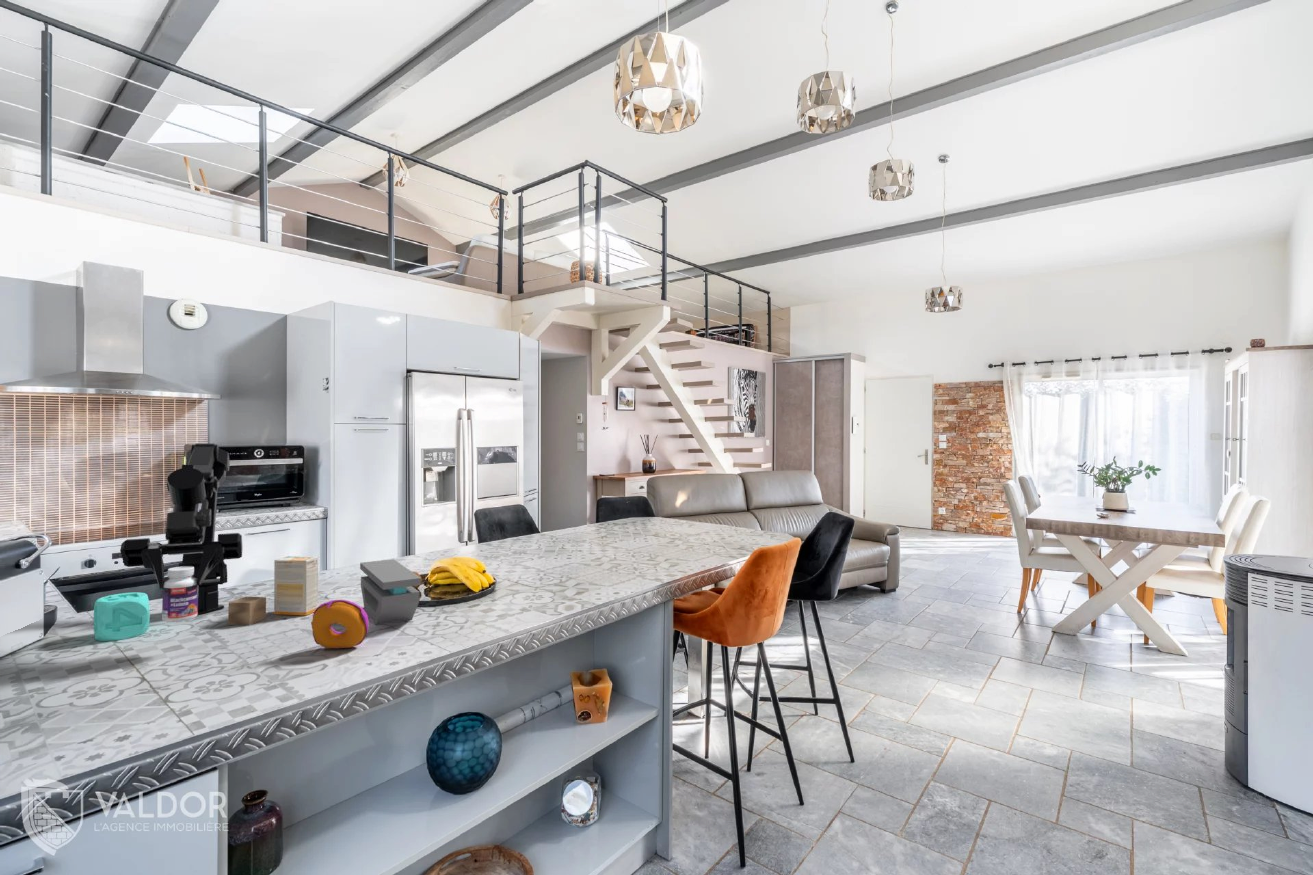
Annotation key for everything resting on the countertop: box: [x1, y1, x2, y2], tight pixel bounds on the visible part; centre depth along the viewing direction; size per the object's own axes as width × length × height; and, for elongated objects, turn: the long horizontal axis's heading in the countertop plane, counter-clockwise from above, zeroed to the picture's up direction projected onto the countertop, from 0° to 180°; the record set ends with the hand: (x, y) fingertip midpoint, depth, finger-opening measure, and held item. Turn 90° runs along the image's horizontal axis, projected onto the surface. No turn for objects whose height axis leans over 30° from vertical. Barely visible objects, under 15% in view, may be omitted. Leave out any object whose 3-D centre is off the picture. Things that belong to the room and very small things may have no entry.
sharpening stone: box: [359, 558, 422, 626], centre depth 140 cm, size 25×8×11 cm, turn 37°
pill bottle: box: [161, 566, 199, 623], centre depth 115 cm, size 5×5×10 cm
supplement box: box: [273, 555, 319, 616], centre depth 142 cm, size 8×5×13 cm, turn 84°
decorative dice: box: [93, 591, 151, 642], centre depth 125 cm, size 8×8×8 cm
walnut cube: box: [227, 596, 267, 626], centre depth 135 cm, size 5×5×5 cm
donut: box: [310, 599, 370, 650], centre depth 118 cm, size 8×9×10 cm
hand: (179, 585), depth 114 cm, fingers closed on pill bottle, 5 cm apart
